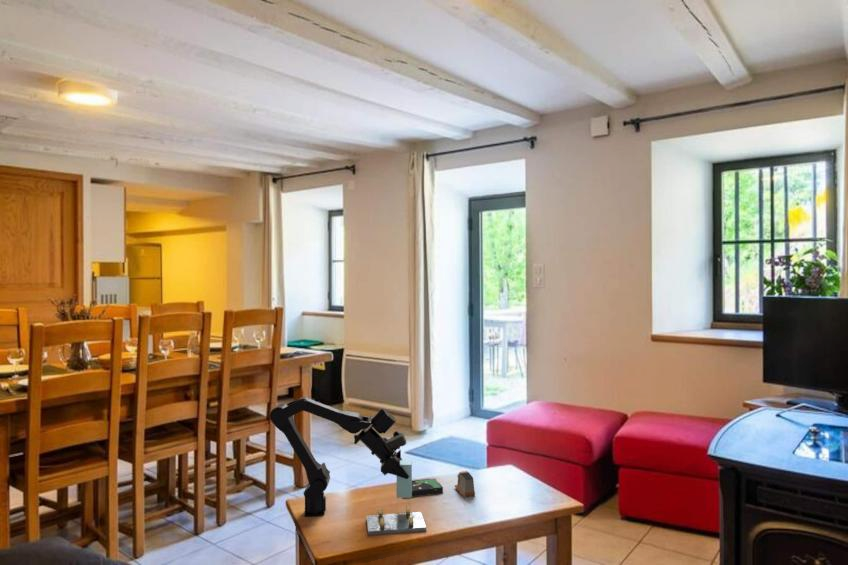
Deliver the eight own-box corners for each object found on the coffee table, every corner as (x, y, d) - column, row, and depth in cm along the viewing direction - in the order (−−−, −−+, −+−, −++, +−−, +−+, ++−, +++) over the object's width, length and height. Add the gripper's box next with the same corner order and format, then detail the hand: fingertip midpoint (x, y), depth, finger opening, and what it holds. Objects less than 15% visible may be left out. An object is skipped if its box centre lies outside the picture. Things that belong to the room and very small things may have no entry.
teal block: (396, 497, 192) (396, 464, 192) (397, 492, 197) (397, 460, 197) (411, 497, 192) (411, 464, 192) (411, 492, 197) (411, 460, 197)
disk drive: (404, 499, 207) (443, 494, 211) (404, 491, 207) (443, 486, 211) (397, 489, 217) (434, 484, 221) (397, 482, 217) (434, 477, 221)
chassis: (368, 535, 176) (368, 522, 176) (366, 519, 188) (366, 507, 188) (426, 531, 179) (426, 518, 179) (420, 515, 191) (420, 503, 191)
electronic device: (464, 487, 217) (464, 467, 217) (475, 496, 208) (475, 475, 208) (454, 488, 215) (453, 468, 215) (464, 498, 206) (464, 477, 206)
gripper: (390, 433, 185) (425, 467, 185) (393, 419, 204) (424, 450, 204) (366, 458, 185) (401, 492, 185) (371, 441, 204) (402, 472, 204)
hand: (408, 475), depth 195 cm, fingers closed on teal block, 5 cm apart
